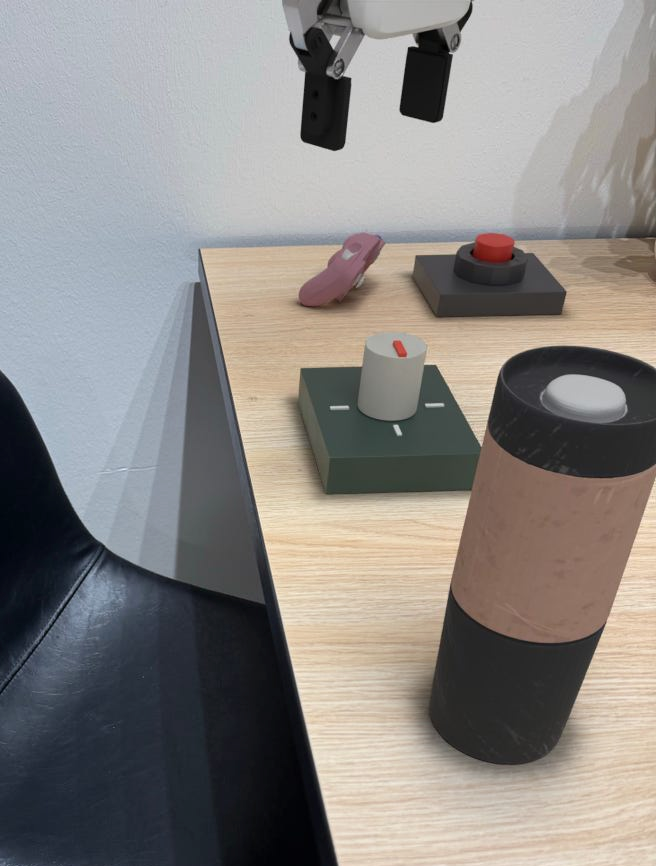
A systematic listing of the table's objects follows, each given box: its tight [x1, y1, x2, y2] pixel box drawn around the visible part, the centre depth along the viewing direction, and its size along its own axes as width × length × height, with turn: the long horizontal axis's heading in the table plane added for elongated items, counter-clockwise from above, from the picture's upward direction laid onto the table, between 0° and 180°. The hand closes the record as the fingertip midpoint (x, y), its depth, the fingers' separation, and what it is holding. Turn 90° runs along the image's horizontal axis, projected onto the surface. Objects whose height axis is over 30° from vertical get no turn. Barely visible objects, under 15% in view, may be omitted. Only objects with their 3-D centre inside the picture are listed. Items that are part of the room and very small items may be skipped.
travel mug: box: [429, 345, 656, 765], centre depth 51 cm, size 8×8×20 cm
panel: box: [297, 364, 482, 495], centre depth 79 cm, size 14×11×3 cm
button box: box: [412, 241, 568, 318], centre depth 100 cm, size 12×10×4 cm
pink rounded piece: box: [298, 228, 386, 307], centre depth 100 cm, size 10×5×7 cm, turn 154°
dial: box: [358, 331, 428, 421], centre depth 76 cm, size 4×4×5 cm
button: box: [473, 232, 515, 262], centre depth 99 cm, size 4×4×2 cm
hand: (372, 131), depth 67 cm, fingers open, 9 cm apart
